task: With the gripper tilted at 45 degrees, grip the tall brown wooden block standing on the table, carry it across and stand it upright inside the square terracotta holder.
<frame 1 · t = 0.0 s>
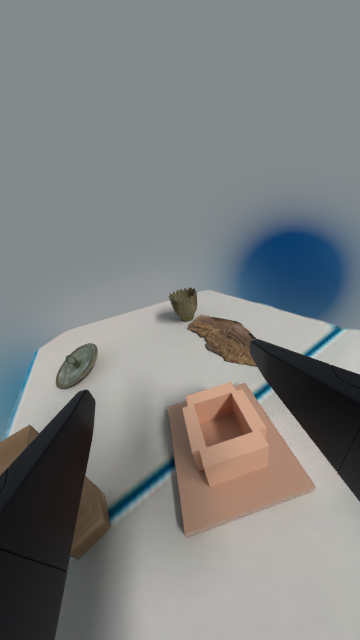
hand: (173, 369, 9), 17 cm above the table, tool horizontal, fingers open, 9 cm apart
terracotta holder: (224, 441, 20), on the table
cup: (188, 319, 49), on the table
brown wooden block: (92, 522, 17), on the table
lid: (82, 371, 38), on the table
wooden fragment: (227, 339, 38), on the table
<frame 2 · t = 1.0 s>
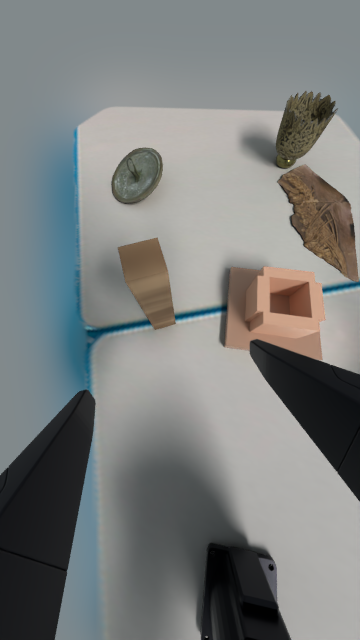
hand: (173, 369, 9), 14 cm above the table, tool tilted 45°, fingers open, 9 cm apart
terracotta holder: (269, 311, 25), on the table
cup: (283, 165, 34), on the table
brown wooden block: (162, 317, 25), on the table
lid: (139, 189, 33), on the table
wooden fragment: (319, 219, 30), on the table
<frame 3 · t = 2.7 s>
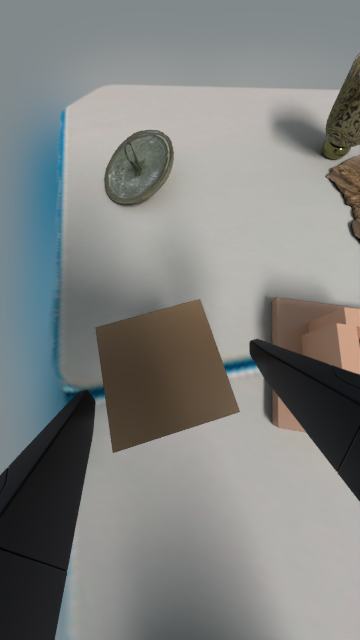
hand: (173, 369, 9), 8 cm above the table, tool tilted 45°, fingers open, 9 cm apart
terracotta holder: (335, 366, 17), on the table
cup: (330, 155, 26), on the table
brown wooden block: (177, 372, 17), on the table
lid: (141, 185, 25), on the table
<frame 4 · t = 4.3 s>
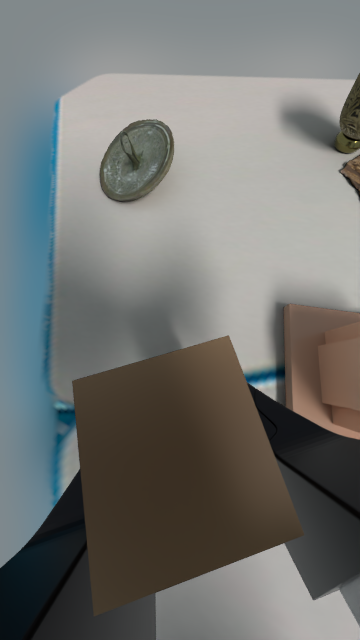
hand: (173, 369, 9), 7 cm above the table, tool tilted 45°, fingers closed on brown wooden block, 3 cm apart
terracotta holder: (354, 380, 15), on the table
cup: (343, 149, 25), on the table
brown wooden block: (181, 387, 15), on the table, touching gripper
lid: (139, 181, 23), on the table
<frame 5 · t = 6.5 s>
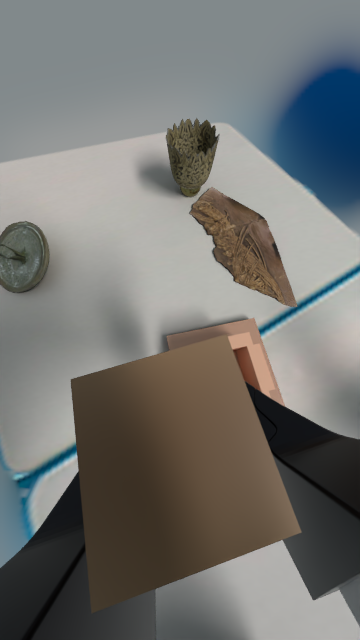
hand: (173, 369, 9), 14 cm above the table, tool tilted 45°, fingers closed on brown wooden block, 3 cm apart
terracotta holder: (221, 373, 22), on the table
cup: (190, 192, 32), on the table
brown wooden block: (180, 387, 15), point 7 cm above the table, touching gripper
lid: (33, 266, 28), on the table
wooden fragment: (242, 244, 29), on the table
when the fingers open (9 cm above the table, at t = 8.8 s): brown wooden block stays where it is, resting on terracotta holder.
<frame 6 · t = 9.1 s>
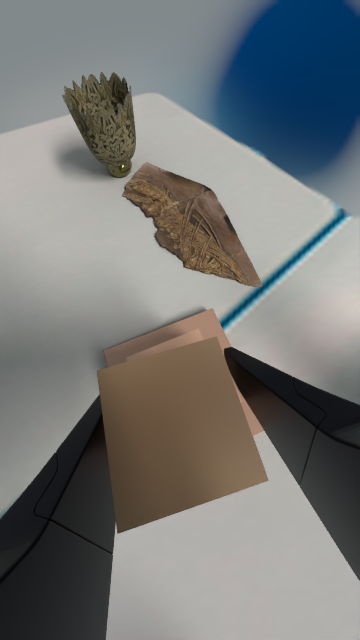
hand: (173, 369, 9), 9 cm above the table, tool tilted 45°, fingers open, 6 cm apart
terracotta holder: (181, 385, 17), on the table
cup: (121, 172, 27), on the table
brown wooden block: (181, 385, 16), point 1 cm above the table, touching terracotta holder
wooden fragment: (190, 223, 24), on the table
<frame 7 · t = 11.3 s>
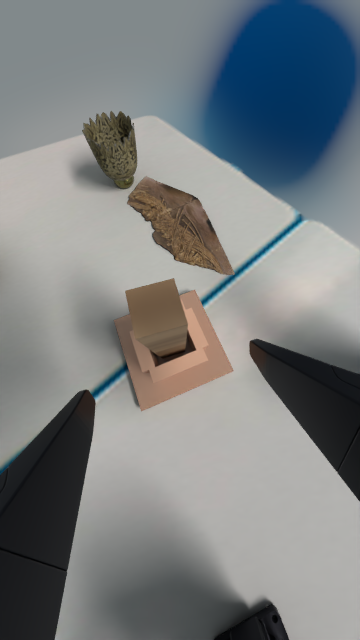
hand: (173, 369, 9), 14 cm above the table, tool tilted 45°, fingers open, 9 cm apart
terracotta holder: (171, 345, 23), on the table
cup: (125, 184, 33), on the table
brown wooden block: (170, 344, 22), point 1 cm above the table, touching terracotta holder
wooden fragment: (180, 225, 30), on the table
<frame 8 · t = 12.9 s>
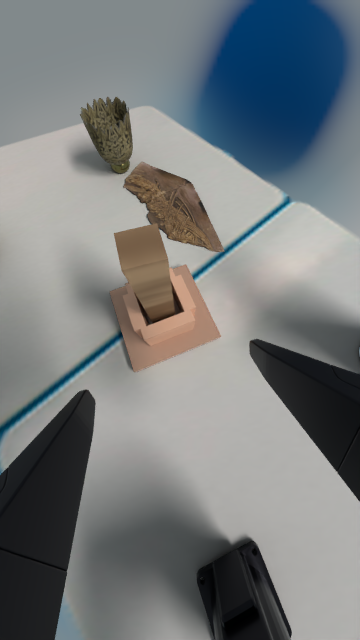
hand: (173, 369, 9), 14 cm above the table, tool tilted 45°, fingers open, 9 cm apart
terracotta holder: (163, 315, 25), on the table
cup: (121, 169, 34), on the table
brown wooden block: (162, 312, 24), point 1 cm above the table, touching terracotta holder
wooden fragment: (174, 207, 31), on the table
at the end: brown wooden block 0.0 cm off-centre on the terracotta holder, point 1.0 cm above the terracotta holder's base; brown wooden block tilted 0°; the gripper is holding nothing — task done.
